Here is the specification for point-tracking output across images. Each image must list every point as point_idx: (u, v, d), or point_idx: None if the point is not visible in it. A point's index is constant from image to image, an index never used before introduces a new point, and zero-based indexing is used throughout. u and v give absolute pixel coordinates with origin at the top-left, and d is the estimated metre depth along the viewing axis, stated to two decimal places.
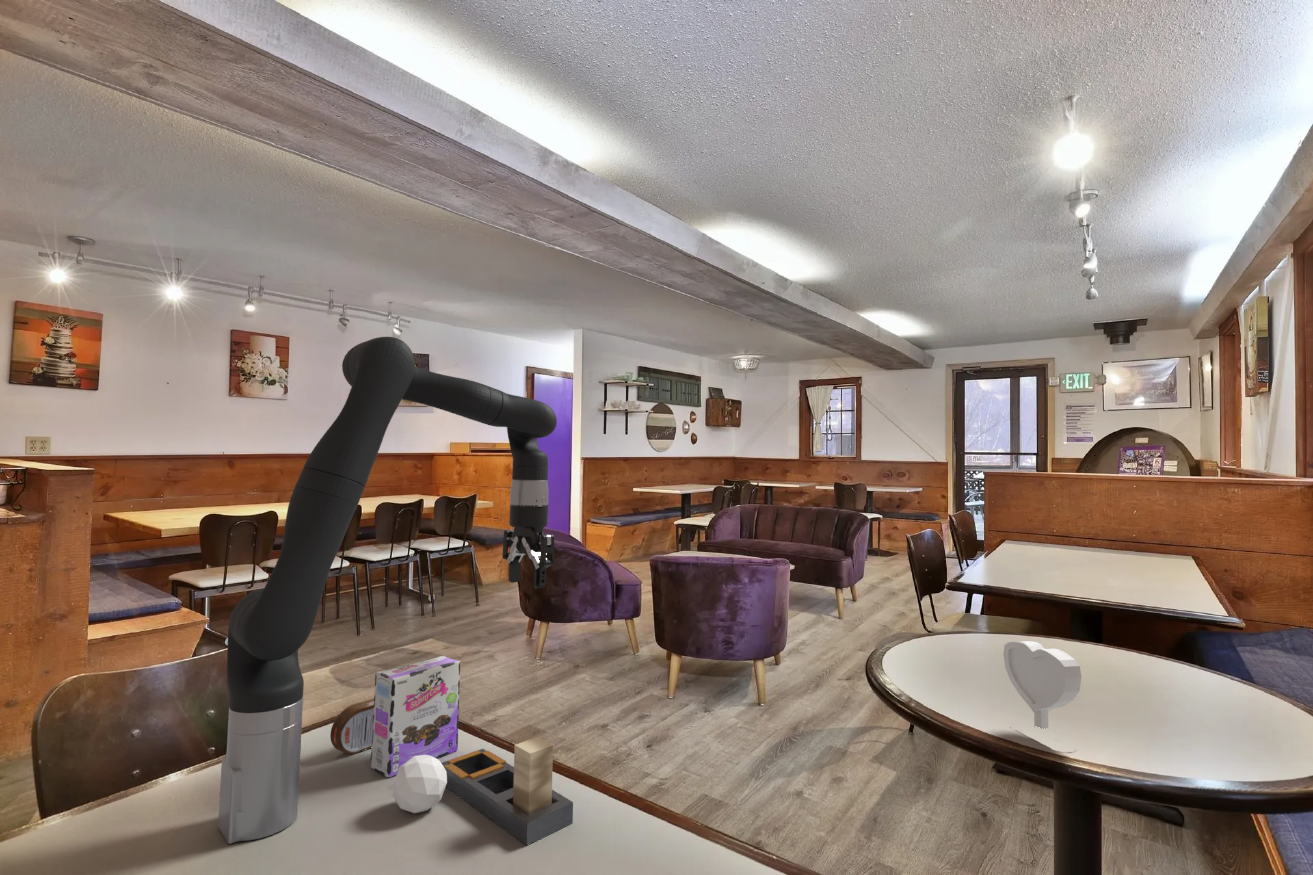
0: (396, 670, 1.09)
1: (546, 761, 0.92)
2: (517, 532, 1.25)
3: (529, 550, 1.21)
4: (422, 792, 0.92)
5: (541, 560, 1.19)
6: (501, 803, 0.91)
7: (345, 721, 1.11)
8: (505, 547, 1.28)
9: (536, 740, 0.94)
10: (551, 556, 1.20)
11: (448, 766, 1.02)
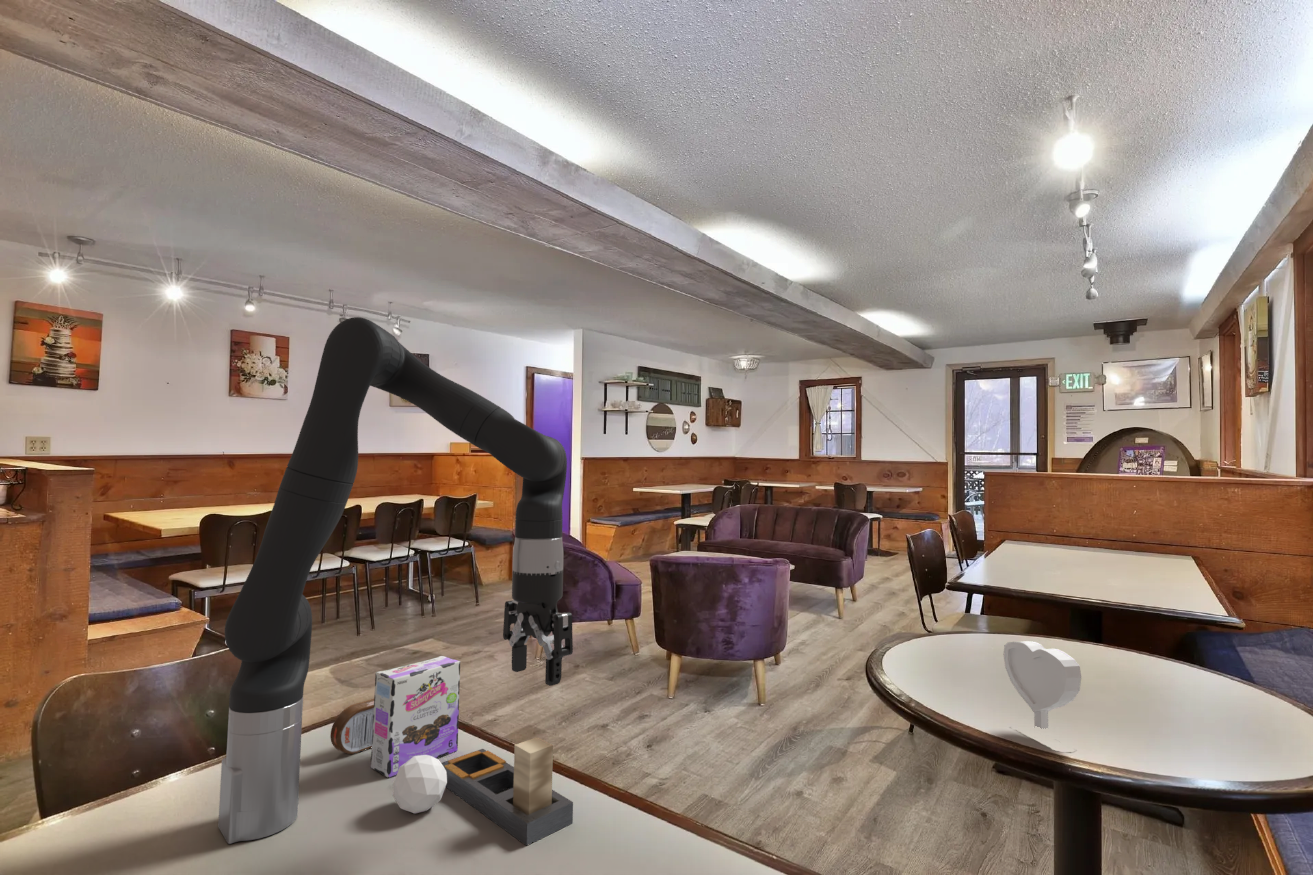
0: (396, 670, 1.09)
1: (546, 761, 0.92)
2: (522, 606, 0.94)
3: (539, 634, 0.90)
4: (422, 792, 0.92)
5: (555, 649, 0.88)
6: (501, 803, 0.91)
7: (345, 721, 1.11)
8: (506, 624, 0.97)
9: (536, 740, 0.94)
10: (568, 642, 0.89)
11: (448, 766, 1.02)
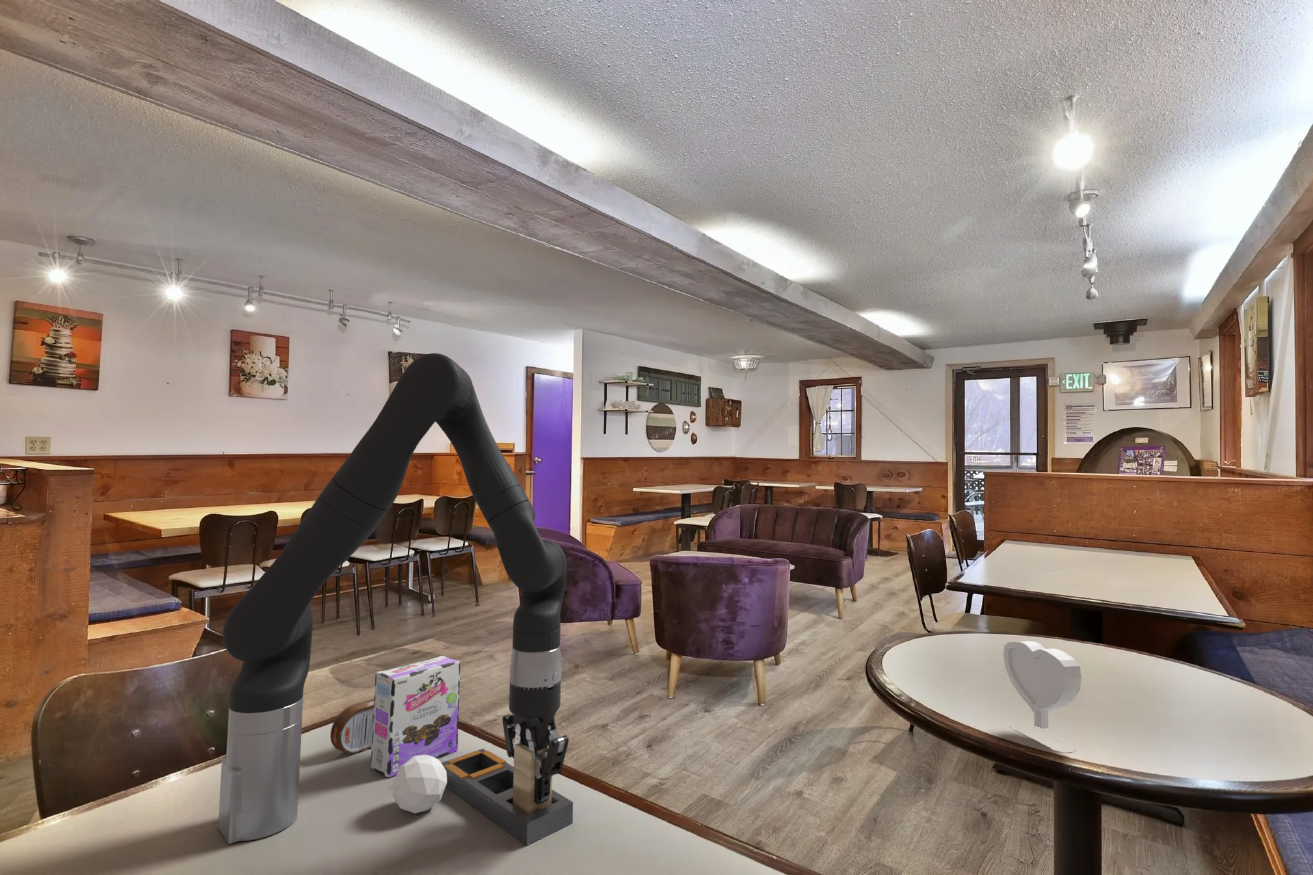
0: (396, 670, 1.09)
1: None
2: None
3: (532, 750, 0.90)
4: (422, 792, 0.92)
5: (544, 769, 0.88)
6: (501, 803, 0.91)
7: (345, 721, 1.11)
8: (508, 740, 0.95)
9: None
10: (559, 763, 0.89)
11: (448, 766, 1.02)
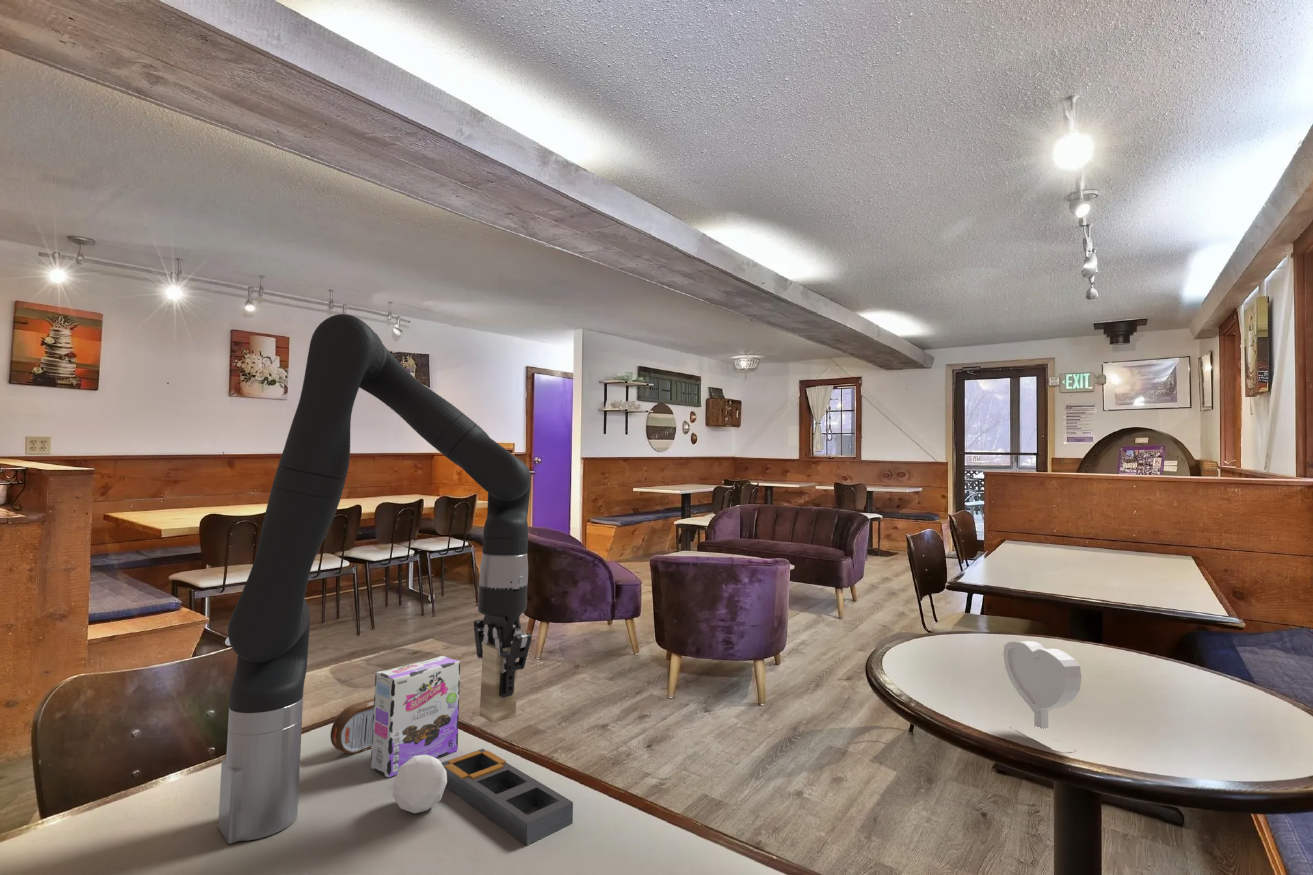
0: (396, 670, 1.09)
1: None
2: (487, 616, 1.00)
3: (498, 647, 0.96)
4: (422, 792, 0.92)
5: (508, 663, 0.95)
6: (501, 803, 0.91)
7: (345, 721, 1.11)
8: (478, 642, 1.02)
9: None
10: (522, 659, 0.96)
11: (448, 766, 1.02)
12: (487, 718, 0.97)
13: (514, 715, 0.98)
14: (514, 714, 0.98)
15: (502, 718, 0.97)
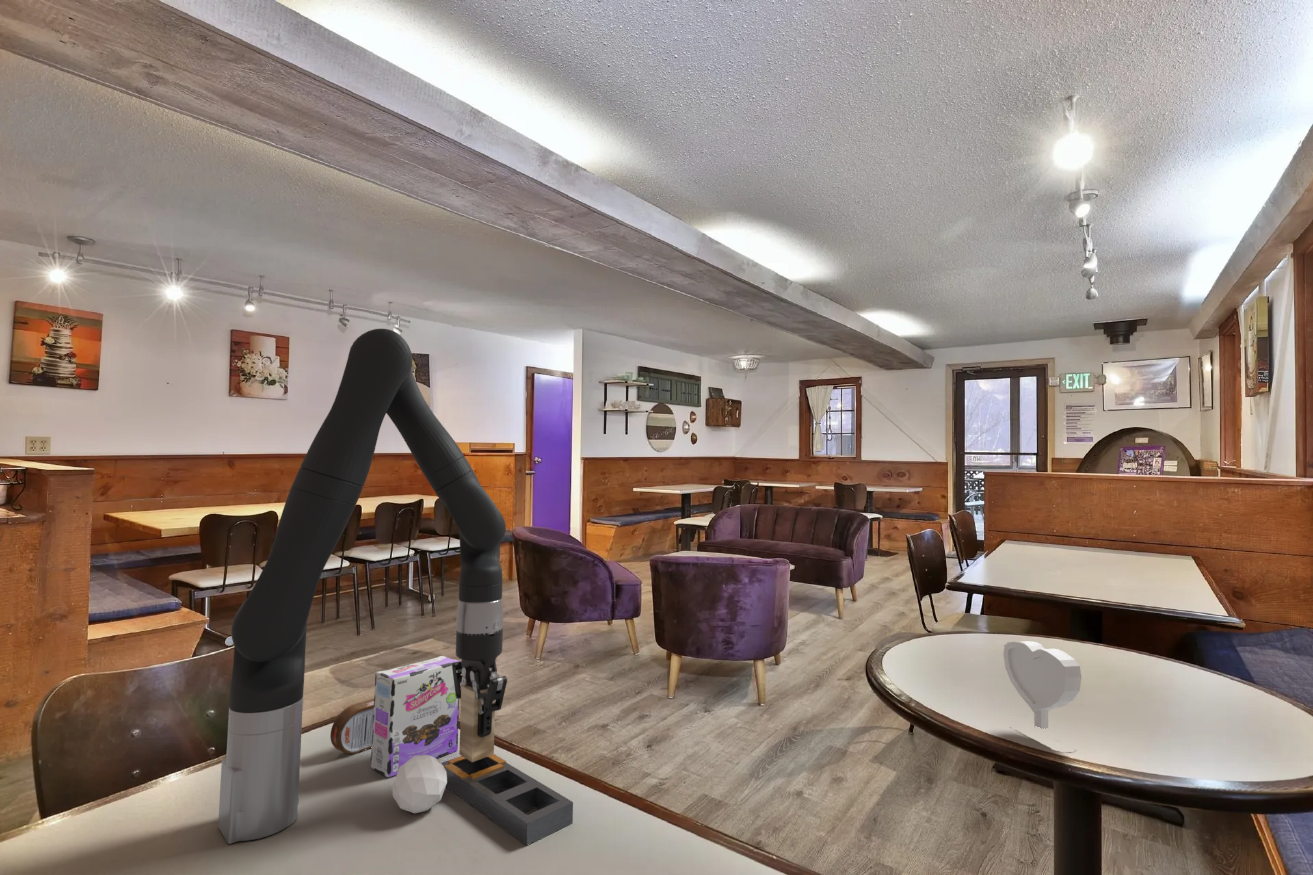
0: (396, 670, 1.09)
1: None
2: None
3: (475, 690, 1.01)
4: (422, 792, 0.92)
5: (485, 705, 1.00)
6: (501, 803, 0.91)
7: (345, 721, 1.11)
8: (456, 683, 1.06)
9: None
10: (499, 701, 1.01)
11: (448, 766, 1.02)
12: (466, 757, 1.02)
13: (492, 753, 1.03)
14: (492, 752, 1.03)
15: (481, 756, 1.02)
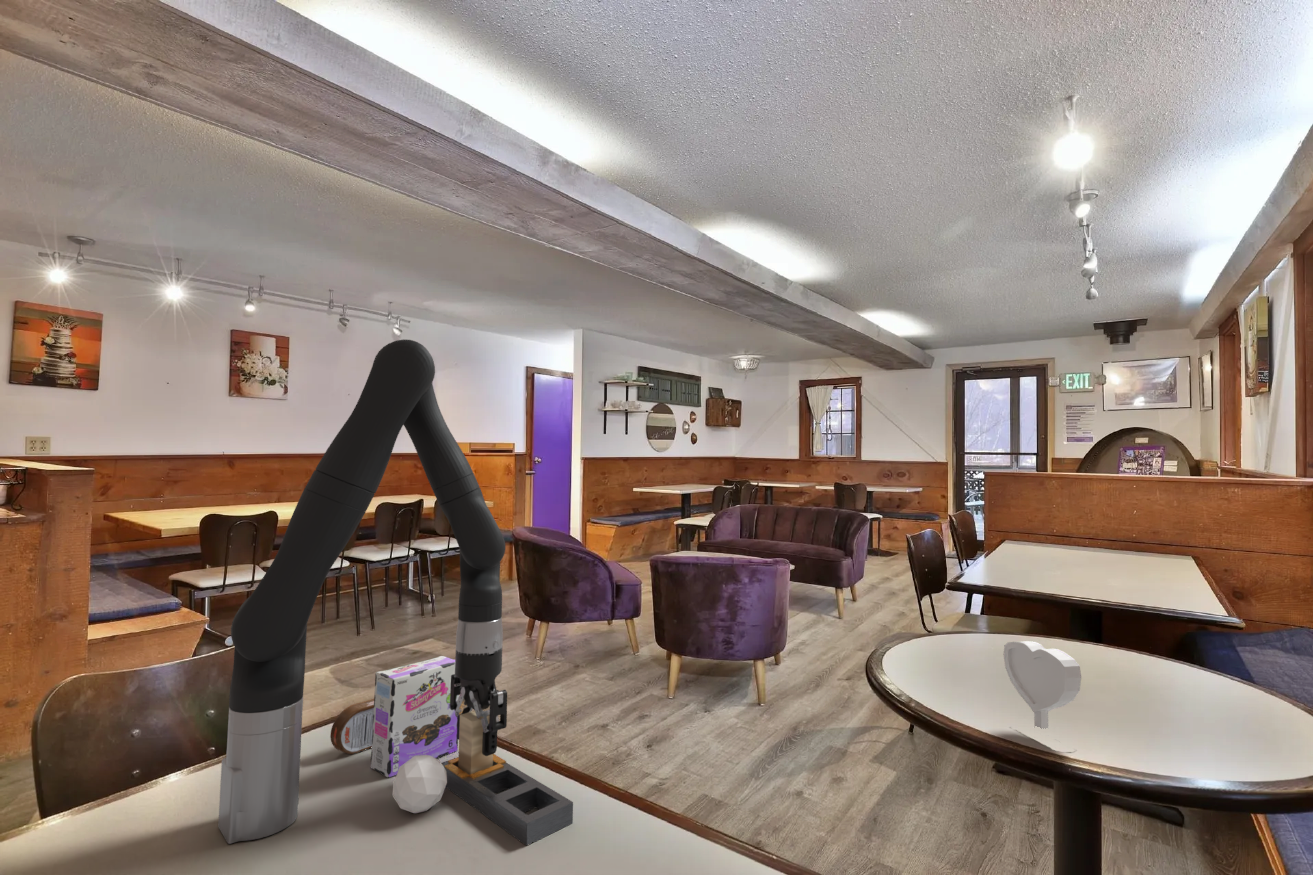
0: (396, 670, 1.09)
1: None
2: (465, 680, 1.05)
3: (477, 708, 1.00)
4: (422, 792, 0.92)
5: (490, 724, 0.99)
6: (501, 803, 0.91)
7: (345, 721, 1.11)
8: (452, 696, 1.07)
9: None
10: (503, 717, 1.00)
11: (448, 766, 1.02)
12: None
13: None
14: None
15: None
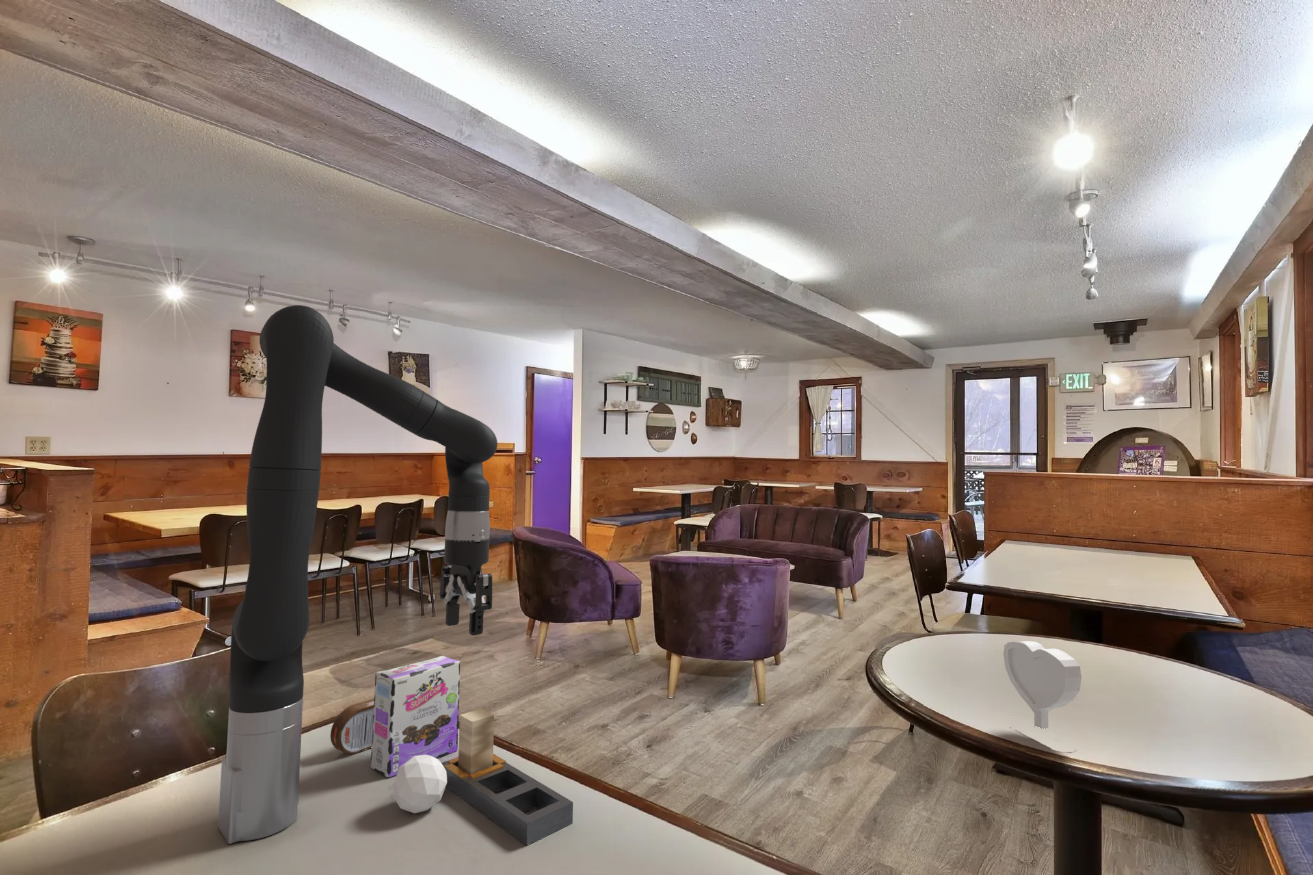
0: (396, 670, 1.09)
1: (488, 729, 1.03)
2: (454, 569, 1.11)
3: (464, 591, 1.07)
4: (422, 792, 0.92)
5: (476, 604, 1.04)
6: (501, 803, 0.91)
7: (345, 721, 1.11)
8: (442, 585, 1.13)
9: (480, 711, 1.05)
10: (488, 599, 1.05)
11: (448, 766, 1.02)
12: None
13: None
14: None
15: None
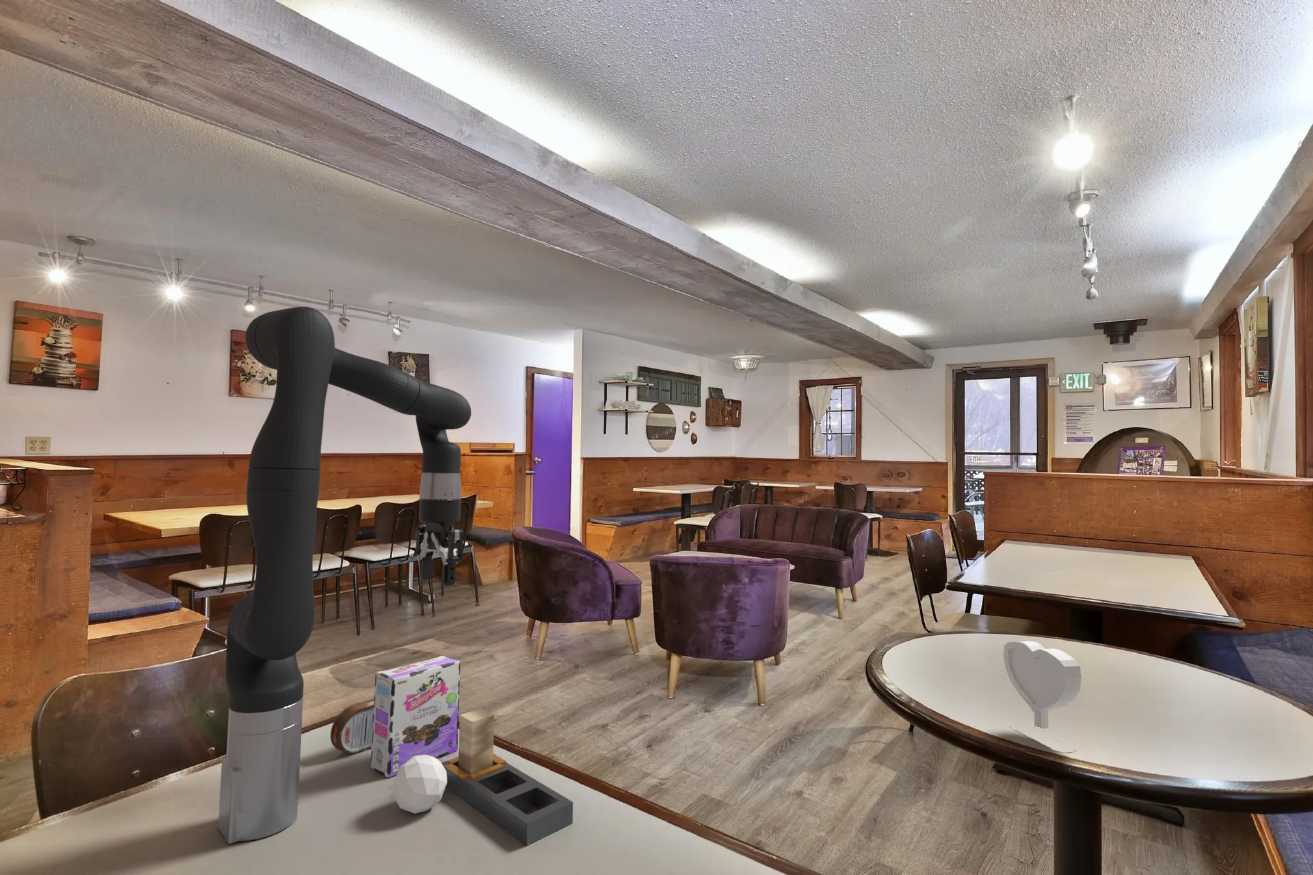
0: (396, 670, 1.09)
1: (488, 729, 1.03)
2: (428, 527, 1.21)
3: (437, 546, 1.16)
4: (422, 792, 0.92)
5: (448, 556, 1.14)
6: (501, 803, 0.91)
7: (345, 721, 1.11)
8: (418, 543, 1.23)
9: (480, 711, 1.05)
10: (460, 552, 1.16)
11: (448, 766, 1.02)
12: None
13: None
14: None
15: None
